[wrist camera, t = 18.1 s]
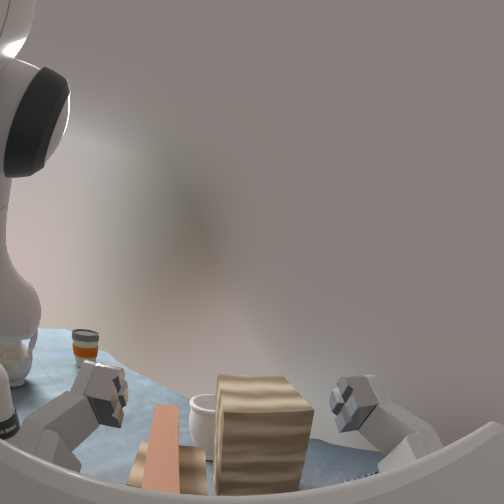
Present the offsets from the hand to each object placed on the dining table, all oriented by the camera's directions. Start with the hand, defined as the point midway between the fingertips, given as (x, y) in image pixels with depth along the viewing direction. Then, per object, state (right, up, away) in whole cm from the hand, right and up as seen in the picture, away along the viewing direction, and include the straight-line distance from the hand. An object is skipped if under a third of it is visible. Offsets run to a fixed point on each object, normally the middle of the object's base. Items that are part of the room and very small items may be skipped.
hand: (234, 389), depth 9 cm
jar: (-10, -44, +45) cm, 64 cm away
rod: (-11, -24, +18) cm, 32 cm away
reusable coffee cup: (-71, -44, +89) cm, 122 cm away
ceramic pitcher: (-79, -39, +50) cm, 101 cm away
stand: (0, -42, +27) cm, 50 cm away
